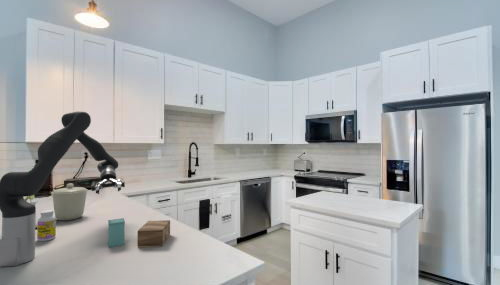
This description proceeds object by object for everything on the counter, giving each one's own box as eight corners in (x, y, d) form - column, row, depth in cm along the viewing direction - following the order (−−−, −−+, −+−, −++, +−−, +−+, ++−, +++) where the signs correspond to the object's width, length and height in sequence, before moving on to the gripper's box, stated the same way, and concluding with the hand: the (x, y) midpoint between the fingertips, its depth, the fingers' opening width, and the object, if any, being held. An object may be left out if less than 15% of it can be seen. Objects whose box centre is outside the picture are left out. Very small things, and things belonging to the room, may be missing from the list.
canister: (42, 221, 142) (42, 185, 142) (71, 213, 159) (72, 180, 160) (67, 223, 137) (67, 186, 138) (94, 215, 155) (95, 181, 155)
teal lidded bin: (124, 244, 108) (124, 221, 108) (108, 247, 104) (108, 223, 105) (123, 240, 113) (123, 218, 113) (107, 242, 110) (108, 220, 110)
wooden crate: (162, 246, 105) (162, 229, 106) (137, 247, 105) (137, 230, 105) (170, 234, 120) (170, 220, 120) (148, 235, 119) (148, 220, 119)
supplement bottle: (33, 242, 110) (34, 213, 111) (41, 237, 117) (42, 210, 117) (51, 240, 112) (51, 212, 112) (58, 235, 119) (58, 209, 119)
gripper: (91, 172, 126) (90, 185, 113) (123, 169, 133) (125, 181, 120) (92, 185, 128) (91, 200, 115) (123, 181, 135) (125, 195, 122)
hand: (108, 190), depth 117 cm, fingers open, 8 cm apart
